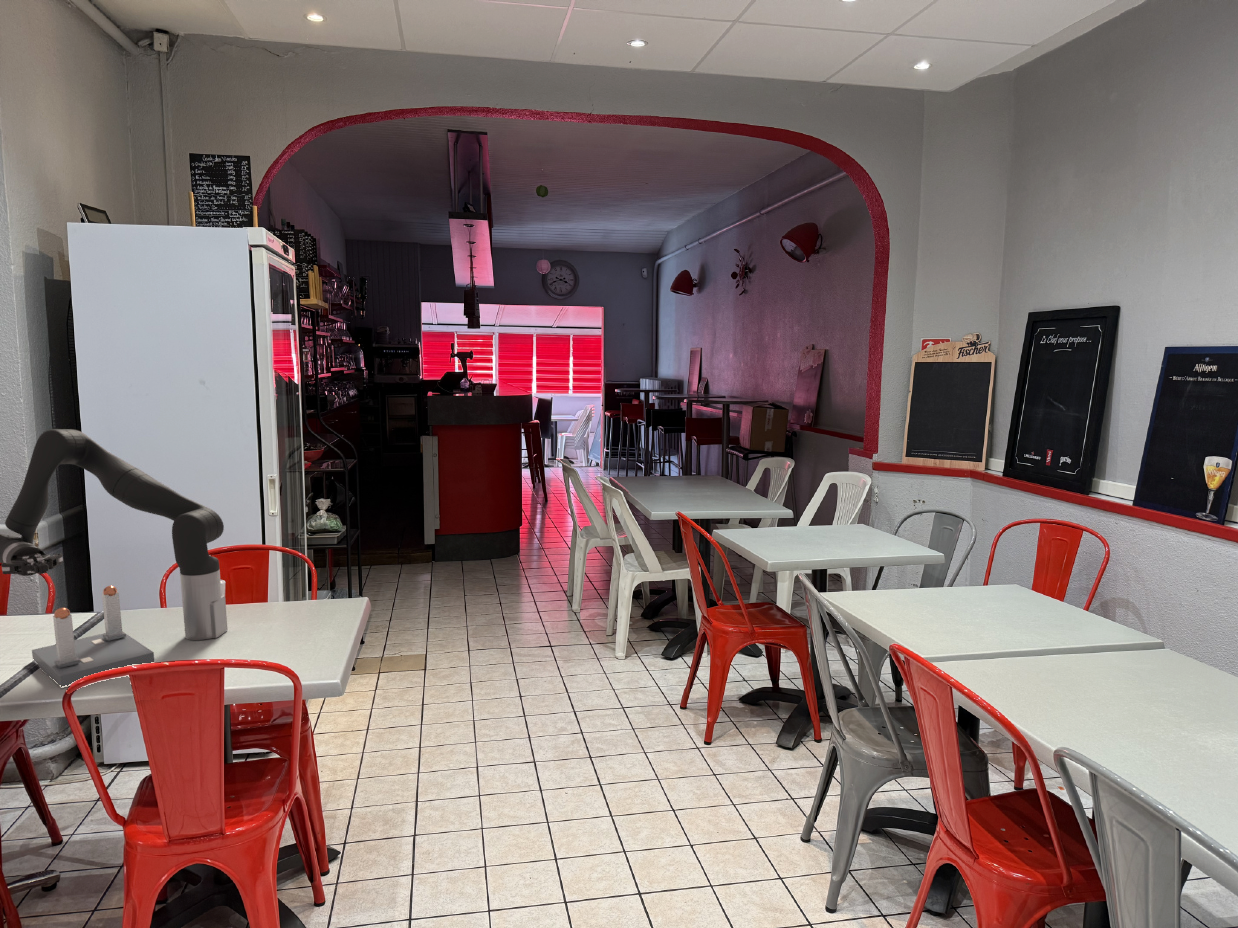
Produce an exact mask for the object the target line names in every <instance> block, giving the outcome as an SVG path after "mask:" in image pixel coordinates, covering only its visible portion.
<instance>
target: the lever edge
mask: <svg viewBox="0 0 1238 928" xmlns="http://www.w3.org/2000/svg"><path fill="white" fill-rule="evenodd" d="M52 619H53V627H54V637H55V644H56V648H57V657H58V660H54V662H55V664H56V665H57V666H58V667H59V668H62V667H66V666H70V665H74V664H78V663H80V660H79V659H78V658H77V657H76V653H75V644H74V640H75V637H74V635H75V634H74V626H73V616H72V614H71V611H70V609H68V608H67V607H59V608H57V609H55V611H54V614H53V615H52Z"/></svg>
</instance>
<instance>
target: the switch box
mask: <svg viewBox="0 0 1238 928" xmlns="http://www.w3.org/2000/svg"><path fill="white" fill-rule="evenodd" d="M103 634H106V632H105V633H100V634H96V635H92V636H87V637H82V638H78V639H77V638H76V639H74V644H75V653H76V657H77V658H78V659H79V660H80V663H78V664H74V665H70V666H66V667H62V668H59V667H58V666H57V665H56V664H55V662H54V660H58V657H57V648H56V643H55V644H53V645H48V646H43V647H39V648H34V649H32V650H31V655H32V660H33V659H34V660H35V661H36V662H37V663H38V665H39V667H40V668H41V669H40V668H39V667H38V668H39V669H40V670H41V671H42V670H43V671H44V672H45V673H46V674H45V673H44V672H43V671H42V672H43V673H44V674H45V675H46V676H48V677H49V676H50V677H51V678H52V679H54V680H55V681H56V682H57V683H58V684H59V685H61V687H62V686H65V685H67V686H68V685H69V684H71V683H72V682H74V681H76V680H78V679H80V678H83V677H84V676H88V675H91V674H94V673H98V672H101V671H105V670H109V669H112V668H118V667H124V666H127V665H132V664H142V663H151V662H155V652H154V651H153V650H151V649H150V648H148V647H146V646H145V645H143V643H141V642H140V641H138V640H136V639H135V638H133V637H131V636H130V635H129V634H127V633H126V637H123V638H119V639H114V640H110V641H107V640H106V639H105V638H103ZM50 677H49V678H50ZM51 678H50V679H51ZM52 679H51V680H52Z"/></svg>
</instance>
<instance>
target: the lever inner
mask: <svg viewBox="0 0 1238 928" xmlns="http://www.w3.org/2000/svg"><path fill="white" fill-rule="evenodd" d="M101 596H102V597H101V599H102V608H103V617H104V629H105V633H106V634H104V633H102V634H103V638H105V639H106V640H107V641H110V640H114V639H119V638H123V637H126V634H127V633H125V632H124V630H123V625H122V624H123V623H122V613H121V604H120V603H121V602H120V592H119V591H118V588H117V587H116V586H113V585H108V586H105V588H104V589H103V591H102V593H101Z"/></svg>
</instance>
